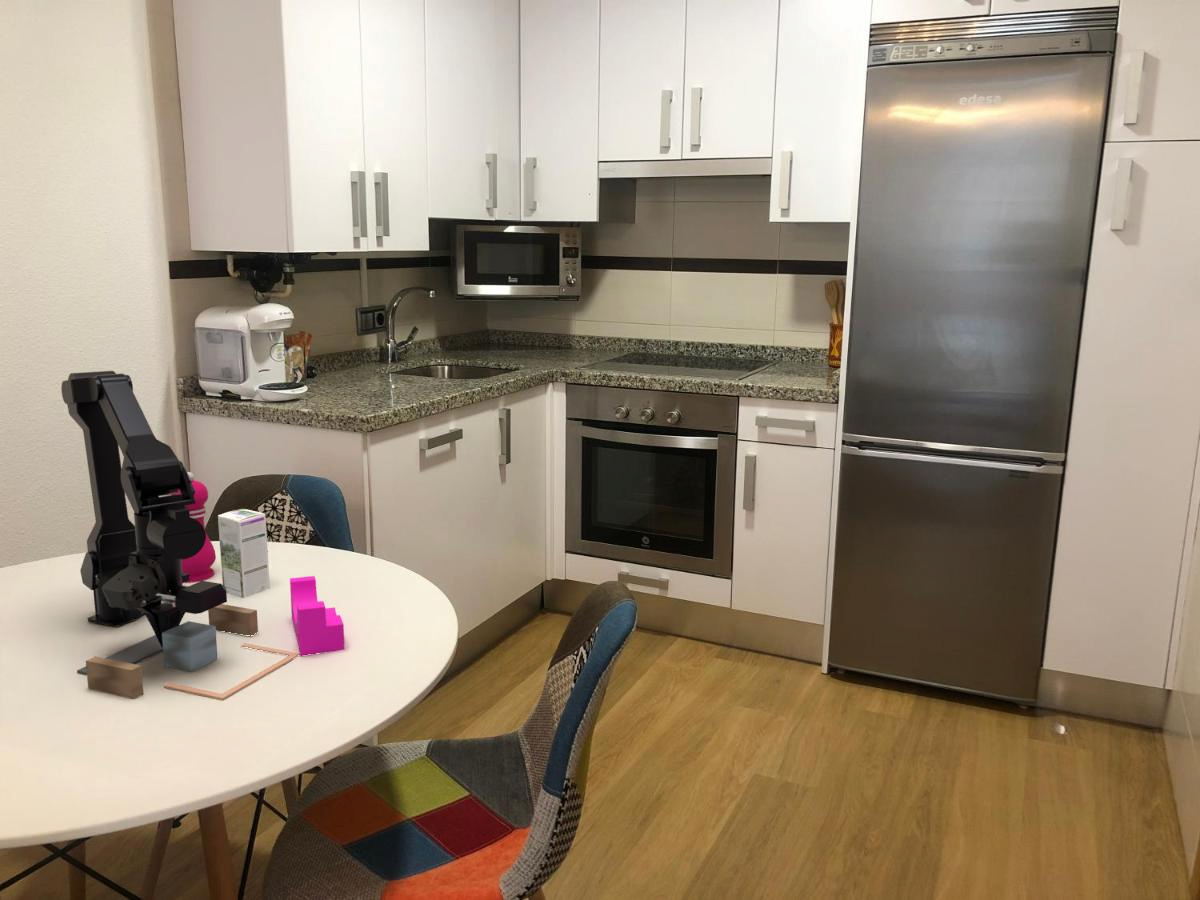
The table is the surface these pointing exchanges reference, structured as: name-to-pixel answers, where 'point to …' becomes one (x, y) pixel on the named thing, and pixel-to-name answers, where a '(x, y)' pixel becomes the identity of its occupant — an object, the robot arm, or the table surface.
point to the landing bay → (243, 684)
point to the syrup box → (244, 552)
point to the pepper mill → (206, 556)
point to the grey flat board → (134, 652)
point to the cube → (189, 646)
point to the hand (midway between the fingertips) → (166, 646)
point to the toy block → (314, 619)
